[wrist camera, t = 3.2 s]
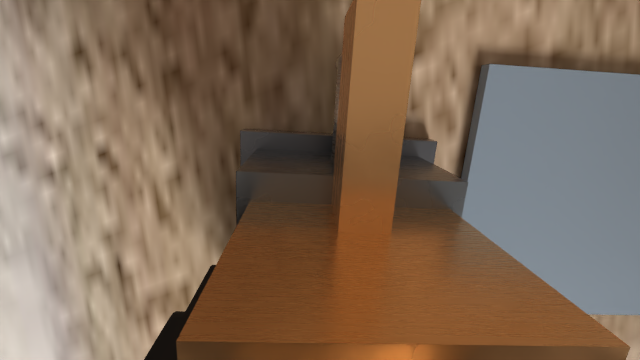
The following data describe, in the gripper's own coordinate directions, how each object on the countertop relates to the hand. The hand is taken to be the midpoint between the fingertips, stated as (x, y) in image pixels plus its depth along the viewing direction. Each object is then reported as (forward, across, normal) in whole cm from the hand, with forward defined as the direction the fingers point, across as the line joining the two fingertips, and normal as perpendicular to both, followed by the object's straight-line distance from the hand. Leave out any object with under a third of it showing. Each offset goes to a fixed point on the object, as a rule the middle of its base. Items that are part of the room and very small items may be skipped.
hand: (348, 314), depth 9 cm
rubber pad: (+6, -12, -2) cm, 14 cm away
